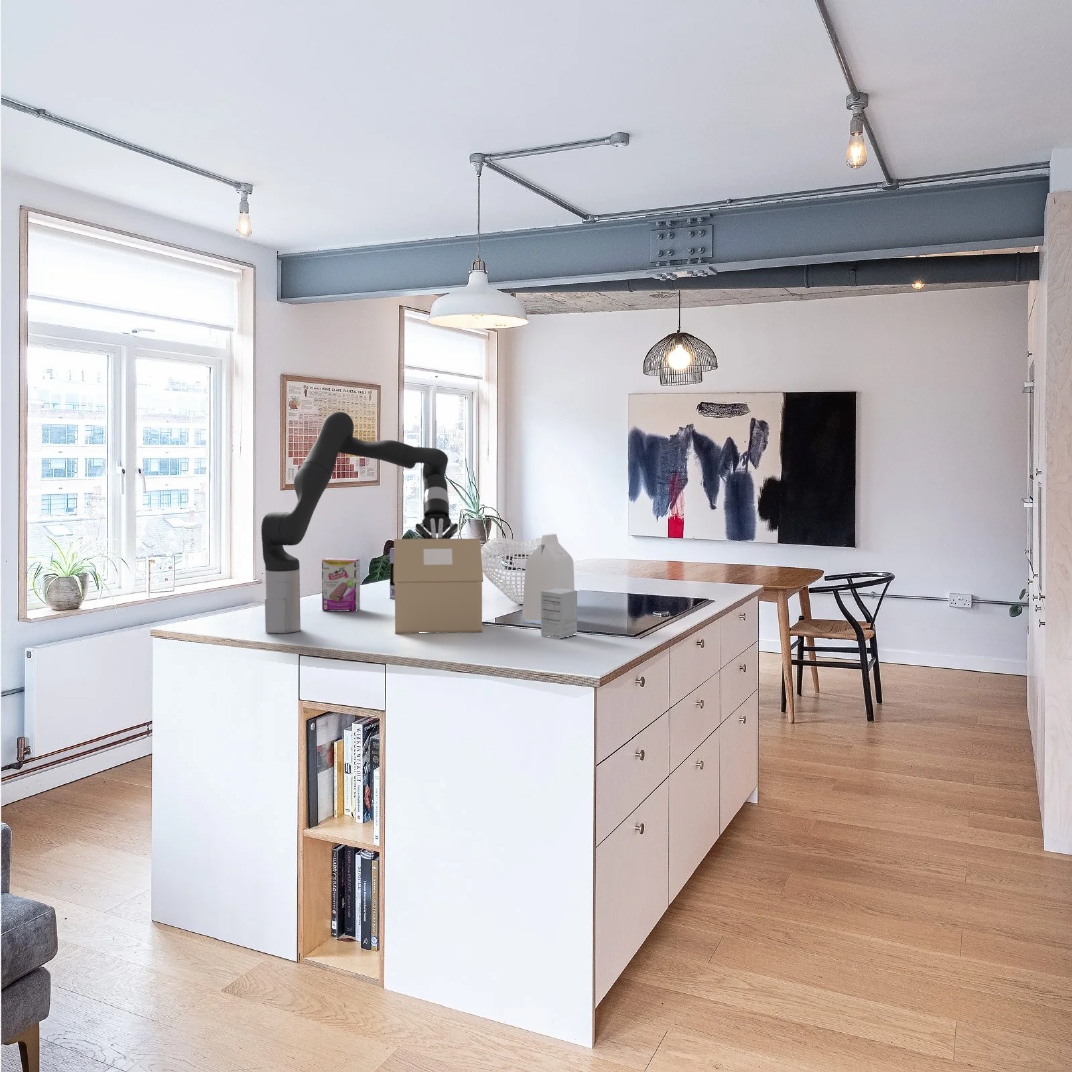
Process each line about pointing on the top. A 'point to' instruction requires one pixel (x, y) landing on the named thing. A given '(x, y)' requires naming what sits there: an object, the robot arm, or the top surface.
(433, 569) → the carton lid
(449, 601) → the carton
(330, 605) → the candy bar box
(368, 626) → the top surface
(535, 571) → the milk
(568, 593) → the supplement box
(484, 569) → the white mesh basket
